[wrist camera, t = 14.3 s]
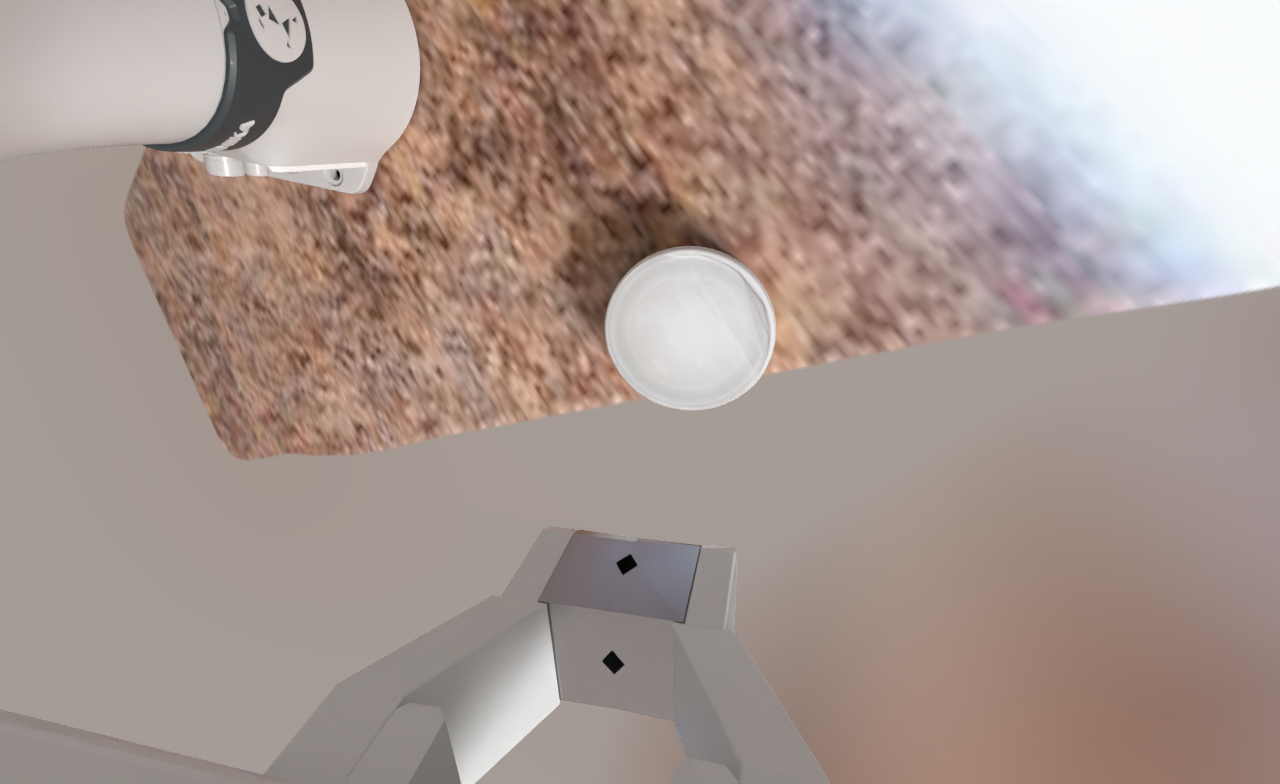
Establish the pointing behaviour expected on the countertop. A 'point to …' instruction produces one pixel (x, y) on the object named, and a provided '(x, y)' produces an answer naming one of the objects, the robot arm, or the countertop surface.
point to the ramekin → (690, 328)
